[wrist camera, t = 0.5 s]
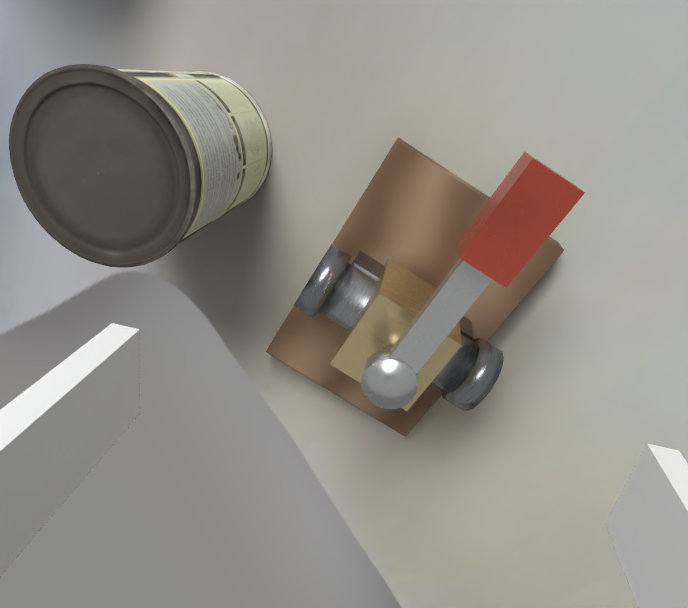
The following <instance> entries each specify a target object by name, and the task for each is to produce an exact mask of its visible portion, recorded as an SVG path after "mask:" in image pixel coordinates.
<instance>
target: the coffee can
mask: <svg viewBox="0 0 688 608" xmlns="http://www.w3.org/2000/svg"><path fill="white" fill-rule="evenodd" d="M9 150H10V159H11V165H12V169H13V173H14V177H15V180H16V183H17V186H18V188H19V191H20V193H21V196H22V198H23V200H24V202H25V203H26V205H27V207H28V209H29V210H30V211H31V213H32V214H33V216H34V217H35V219H36V220H37V221H38V222H39V224H40V225H41V226H42V227H43V228H44V229H45V230H46V231H47V232H48V233H49V234H50V235H51V236H52V237H53V238H54V239H55V240H57V241H58V242H59V243H60V244H61V245H62V246H64V247H65V248H66V249H68V250H70V251H71V252H73V253H75V254H76V255H78V256H80V257H82V258H84V259H86V260H89V261H91V262H95V263H98V264H102V265H106V266H110V267H134V266H139V265H144V264H147V263H150V262H152V261H155V260H157V259H159V258H160V257H162V256H164V255H165V254H167V253H168V252H169V251H171V250H172V249H173V248H174V247H176V245H177V244H178V243H180V242H181V241H183V240H185V239H186V238H188V237H190V236H191V235H193V234H194V233H196V232H197V231H199V230H200V229H202V228H203V227H205V226H206V225H208V224H209V223H211V222H212V221H214V220H216V219H217V218H219V217H220V216H222V215H224V214H226V213H227V212H228V211H230V210H232V209H233V208H235V207H237V206H239V205H241V204H243V203H244V202H246V201H247V200H249V199H250V198H251V197H252V196H254V194H255V193H256V192H257V191H258V190H259V188H260V187H261V185H262V184H263V182H264V180H265V178H266V176H267V173H268V170H269V166H270V161H271V153H272V145H271V138H270V132H269V128H268V125H267V122H266V119H265V117H264V115H263V113H262V111H261V109H260V108H259V106H258V105H257V103H256V102H255V101H254V99H253V98H252V96H251V95H250V94H249V93H248V92H246V91H245V90H244V89H243V88H242V87H241V86H240V85H238V84H237V83H236V82H234V81H233V80H231V79H229V78H227V77H225V76H222V75H219V74H216V73H213V72H206V71H194V72H176V71H148V70H129V69H114V68H110V67H106V66H98V65H89V64H76V65H69V66H64V67H60V68H57V69H55V70H52V71H50V72H48V73H46V74H44V75H43V76H41V77H40V78H39V79H37V80H36V81H35V82H34V83H33V84H32V85H31V86H30V87H29V88H28V89H27V90H26V92H25V93H24V95H23V96H22V98H21V99H20V101H19V103H18V105H17V107H16V110H15V113H14V115H13V119H12V122H11V127H10V134H9Z"/></svg>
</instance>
